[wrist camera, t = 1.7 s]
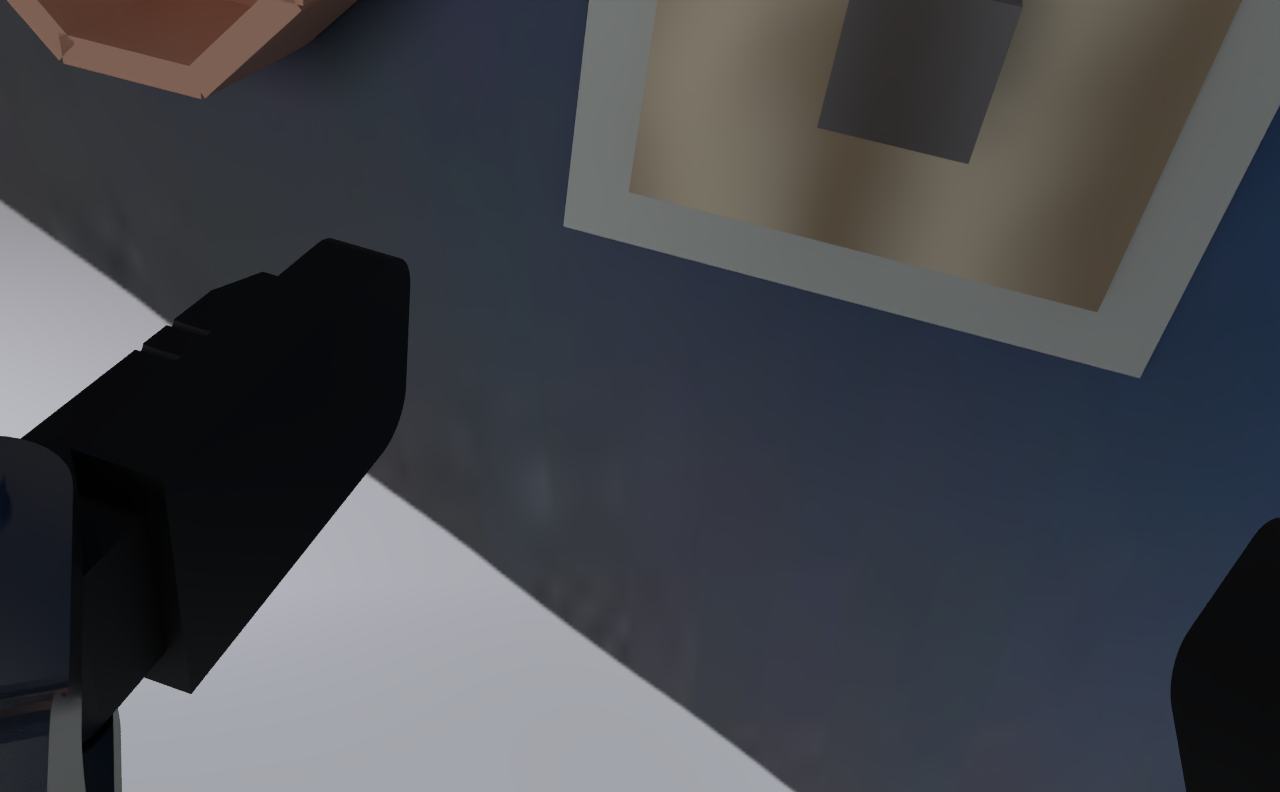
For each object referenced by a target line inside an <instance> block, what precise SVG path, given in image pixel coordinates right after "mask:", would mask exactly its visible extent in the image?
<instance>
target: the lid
mask: <svg viewBox="0 0 1280 792" xmlns="http://www.w3.org/2000/svg"><path fill="white" fill-rule="evenodd" d="M1241 1H1242V0H658V1H657V7H656V14H655V21H654V27H653V34H652V41H651V47H650V54H649V60H648V67H647V74H646V80H645V87H644V94H643V100H642V107H641V114H640V120H639V127H638V134H637V140H636V147H635V153H634V160H633V167H632V173H631V180H630V187H629V192H630V193H634V194H638V195H642V196H646V197H650V198H654V199H658V200H661V201H665V202H669V203H673V204H677V205H681V206H685V207H689V208H693V209H696V210H700V211H704V212H708V213H712V214H716V215H720V216H724V217H728V218H732V219H735V220H739V221H743V222H747V223H751V224H755V225H759V226H763V227H767V228H771V229H774V230H778V231H782V232H786V233H790V234H794V235H798V236H802V237H806V238H809V239H813V240H817V241H821V242H825V243H829V244H833V245H837V246H841V247H845V248H848V249H852V250H856V251H860V252H864V253H868V254H872V255H876V256H880V257H884V258H887V259H891V260H895V261H899V262H903V263H907V264H911V265H915V266H919V267H922V268H926V269H930V270H934V271H938V272H942V273H946V274H950V275H954V276H958V277H961V278H965V279H969V280H973V281H977V282H981V283H985V284H989V285H993V286H997V287H1000V288H1004V289H1008V290H1012V291H1016V292H1020V293H1024V294H1028V295H1032V296H1035V297H1039V298H1043V299H1047V300H1051V301H1055V302H1059V303H1063V304H1067V305H1071V306H1074V307H1078V308H1082V309H1086V310H1090V311H1094V312H1098V310H1099V308H1100V306H1101V303H1102V301H1103V299H1104V297H1105V295H1106V293H1107V291H1108V288H1109V286H1110V284H1111V282H1112V280H1113V278H1114V275H1115V273H1116V271H1117V269H1118V267H1119V265H1120V262H1121V260H1122V258H1123V256H1124V254H1125V252H1126V250H1127V247H1128V245H1129V243H1130V241H1131V239H1132V237H1133V234H1134V232H1135V230H1136V228H1137V226H1138V224H1139V221H1140V219H1141V217H1142V215H1143V213H1144V211H1145V209H1146V206H1147V204H1148V202H1149V200H1150V198H1151V196H1152V193H1153V191H1154V189H1155V187H1156V185H1157V183H1158V180H1159V178H1160V176H1161V174H1162V172H1163V170H1164V168H1165V165H1166V163H1167V161H1168V159H1169V157H1170V155H1171V152H1172V150H1173V148H1174V146H1175V144H1176V142H1177V139H1178V137H1179V135H1180V133H1181V131H1182V129H1183V127H1184V124H1185V122H1186V120H1187V118H1188V116H1189V114H1190V111H1191V109H1192V107H1193V105H1194V103H1195V101H1196V99H1197V96H1198V94H1199V92H1200V90H1201V88H1202V86H1203V83H1204V81H1205V79H1206V77H1207V75H1208V73H1209V70H1210V68H1211V66H1212V64H1213V62H1214V60H1215V58H1216V55H1217V53H1218V51H1219V49H1220V47H1221V45H1222V42H1223V40H1224V38H1225V36H1226V34H1227V32H1228V29H1229V27H1230V25H1231V23H1232V21H1233V19H1234V17H1235V14H1236V12H1237V10H1238V8H1239V6H1240V4H1241Z"/></svg>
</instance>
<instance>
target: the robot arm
mask: <svg viewBox="0 0 1280 792" xmlns="http://www.w3.org/2000/svg"><path fill="white" fill-rule="evenodd" d="M409 302H410V273H409V269H408V266H407V264H406V262H405V261H404V260H403V259H401V258H397V257H394V256H391V255H387V254H384V253H380V252H377V251H373V250H370V249H367V248H363V247H360V246H356V245H353V244H349V243H346V242H342V241H339V240H336V239H332V238H327V239H324V240H322V241H320V242H319V243H317V244H316V245H315V246H314V247H313V248H311V249H310V250H309V251H308V252H307V253H305V254H304V255H303V256H302V257H301V258H299V259H298V260H297V261H296V262H295V263H293V264H292V265H291V266H290V267H288V268H287V269H286V270H285V271H284V272H282V273H281V274H280V275H279V276H275V275H272V274H269V273H265V272H261V273H258V274H255V275H253V276H250V277H247V278H244V279H242V280H239V281H236V282H234V283H231V284H228V285H225V286H223V287H220V288H217V289H214V290H212V291H210V292H209V293H208V294H206V295H205V296H204V297H202V298H201V299H200V300H199V301H197V302H196V303H195V304H193V305H192V306H191V307H190V308H188V309H187V310H186V311H184V312H183V313H182V314H181V315H179V316H178V317H177V318H175V319H174V323H173V325H172V327H170V326H165V327H164V328H162V329H161V330H160V331H159V332H157V333H156V334H155V335H153V336H152V337H151V338H150V339H148V340H147V341H146V342H144V343H143V348H142V350H141V351H137V350H134V351H133V352H132V353H131V354H129V355H128V356H127V357H125V358H124V359H123V360H122V361H120V362H119V363H117V364H116V365H115V366H114V367H112V368H111V369H110V370H108V371H107V372H106V373H105V374H103V375H102V376H101V377H99V378H98V379H97V380H96V381H94V382H93V383H92V384H90V385H89V386H88V387H87V388H85V389H84V390H83V391H81V392H80V393H79V394H78V395H76V396H75V397H74V398H72V399H71V400H70V401H69V402H67V403H66V404H65V405H63V406H62V407H61V408H60V409H58V410H57V411H56V412H54V413H53V414H52V415H51V416H49V417H48V418H47V419H45V420H44V421H43V422H42V423H40V424H39V425H38V426H36V427H35V428H34V429H33V430H31V431H30V432H29V433H27V434H26V435H25V436H24V437H22V438H21V439H18V438H12V437H6V436H5V437H4V436H0V792H122V778H121V734H120V733H121V731H120V719H119V713H118V707H119V706H120V705H121V704H122V702H123V701H124V700H125V699H126V698H127V697H128V695H129V694H130V693H131V692H132V691H133V689H134V688H135V687H136V686H137V685H138V684H139V683H140V681H141V680H142V679H143V678H144V677H145V678H148V679H150V680H153V681H156V682H159V683H162V684H164V685H167V686H170V687H173V688H176V689H178V690H181V691H184V692H187V693H190V694H192V692H193V691H194V690H195V689H196V687H197V686H198V685H199V684H200V682H201V681H202V680H203V678H204V677H205V676H206V675H207V674H208V672H209V671H210V669H211V668H212V667H213V666H214V665H215V663H216V662H217V661H218V660H219V658H220V657H221V656H222V655H223V653H224V652H225V651H226V650H227V648H228V647H229V646H230V645H231V643H232V642H233V641H234V639H235V638H236V637H237V636H238V634H239V633H240V632H241V631H242V629H243V628H244V627H245V626H246V624H247V623H248V622H249V620H250V619H251V618H252V617H253V616H254V614H255V613H256V612H257V611H258V609H259V608H260V607H261V605H262V604H263V603H264V602H265V600H266V599H267V598H268V597H269V595H270V594H271V593H272V592H273V590H274V589H275V588H276V587H277V585H278V584H279V583H280V582H281V580H282V579H283V578H284V576H285V575H286V574H287V573H288V571H289V570H290V569H291V568H292V566H293V565H294V564H295V563H296V561H297V560H298V559H299V558H300V556H301V555H302V554H303V553H304V551H305V550H306V549H307V548H308V546H309V545H310V544H311V542H312V541H313V540H314V539H315V537H316V536H317V535H318V534H319V532H320V531H321V530H322V528H323V527H324V526H325V525H326V524H327V522H328V521H329V520H330V518H331V517H332V516H333V515H334V513H335V512H336V511H337V510H338V508H339V507H340V506H341V505H342V503H343V502H344V501H345V500H346V498H347V497H348V496H349V495H350V493H351V492H352V491H353V490H354V488H355V487H356V486H357V485H358V483H359V482H360V481H361V479H362V478H363V477H364V476H365V474H366V473H367V472H368V471H369V469H370V468H371V467H372V466H373V464H374V463H375V462H376V461H377V459H378V458H379V457H380V456H381V454H382V453H383V452H384V450H385V449H386V447H387V446H388V444H389V442H390V440H391V438H392V436H393V434H394V432H395V430H396V427H397V425H398V422H399V419H400V416H401V413H402V409H403V405H404V399H405V392H406V373H407V350H408V326H409ZM1171 705H1172V711H1173V717H1174V723H1175V729H1176V735H1177V740H1178V746H1179V752H1180V758H1181V763H1182V769H1183V775H1184V781H1185V787H1186V792H1280V518H1275V519H1273V520H1270V521H1269V522H1267V523H1266V524H1265V525H1263V526H1262V527H1261V528H1260V529H1259V530H1258V532H1257V533H1256V534H1255V536H1254V537H1253V538H1252V540H1251V541H1250V543H1249V544H1248V546H1247V547H1246V548H1245V550H1244V551H1243V553H1242V554H1241V556H1240V557H1239V559H1238V560H1237V561H1236V563H1235V564H1234V566H1233V567H1232V569H1231V570H1230V572H1229V573H1228V574H1227V576H1226V577H1225V579H1224V580H1223V582H1222V583H1221V585H1220V586H1219V588H1218V589H1217V590H1216V592H1215V593H1214V595H1213V596H1212V598H1211V599H1210V601H1209V602H1208V603H1207V605H1206V606H1205V608H1204V609H1203V611H1202V612H1201V614H1200V615H1199V617H1198V618H1197V619H1196V621H1195V622H1194V624H1193V625H1192V627H1191V628H1190V630H1189V631H1188V633H1187V634H1186V636H1185V638H1184V640H1183V642H1182V644H1181V646H1180V648H1179V651H1178V654H1177V657H1176V660H1175V664H1174V668H1173V673H1172V679H1171Z"/></svg>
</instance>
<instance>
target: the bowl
mask: <svg viewBox="0 0 1280 792" xmlns="http://www.w3.org/2000/svg"><path fill="white" fill-rule="evenodd" d="M7 1H8V2H9V3H10V4H11V6H12V7H13V8H14V9H15V10H16V11H17V12H18V14H19V15H20V16H21V17H22V18H23V19H24V21H25V22H26V23H27V24H28V25H29V26H30V27H31V29H32V30H33V31H34V32H35V33H36V34H37V36H38V37H39V38H40V39H41V40H42V41H43V42H44V44H45V45H46V46H47V47H48V48H49V49H50V50H51V52H52V53H53V54H54V55H55V56H56V57H57V59H58V60H62V59H63V63H64V64H68V65H72V66H75V67H79V68H83V69H87V70H91V71H95V72H99V73H102V74H106V75H110V76H114V77H118V78H122V79H126V80H129V81H133V82H137V83H141V84H145V85H149V86H153V87H156V88H160V89H164V90H168V91H172V92H176V93H180V94H183V95H187V96H191V97H195V98H199V99H202V98H204V97H205V98H207V97H209V96H211V95H213V94H214V93H216V92H218V91H220V90H222V89H224V88H226V87H228V86H230V85H232V84H234V83H235V82H237V81H239V80H241V79H243V78H245V77H247V76H249V75H251V74H253V73H254V72H256V71H258V70H260V69H262V68H264V67H266V66H268V65H270V64H272V63H273V62H275V61H277V60H279V59H281V58H283V57H285V56H287V55H289V54H291V53H292V52H294V51H296V50H298V49H300V48H302V47H304V46H306V45H307V44H308V43H310V42H311V41H312V40H313V39H314V38H315V37H316V36H318V35H319V34H320V33H321V32H322V31H323V30H324V29H326V28H327V27H328V26H329V25H330V24H331V23H332V22H334V21H335V20H336V19H337V18H338V17H339V16H340V15H341V14H343V13H344V12H345V11H346V10H347V9H348V8H349V7H351V6H352V5H353V4H354V3H355V2H356V1H357V0H7Z"/></svg>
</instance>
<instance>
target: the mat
mask: <svg viewBox="0 0 1280 792" xmlns="http://www.w3.org/2000/svg"><path fill="white" fill-rule="evenodd" d="M657 1H658V0H589V6H588V15H587V24H586V33H585V41H584V50H583V59H582V68H581V77H580V85H579V94H578V103H577V112H576V120H575V129H574V138H573V147H572V156H571V164H570V173H569V182H568V191H567V199H566V208H565V217H564V227H568V228H572V229H575V230H579V231H583V232H587V233H591V234H594V235H598V236H602V237H606V238H610V239H613V240H617V241H621V242H625V243H628V244H632V245H636V246H640V247H644V248H647V249H651V250H655V251H659V252H663V253H666V254H670V255H674V256H678V257H682V258H685V259H689V260H693V261H697V262H701V263H704V264H708V265H712V266H716V267H720V268H723V269H727V270H731V271H735V272H739V273H742V274H746V275H750V276H754V277H757V278H761V279H765V280H769V281H773V282H776V283H780V284H784V285H788V286H792V287H795V288H799V289H803V290H807V291H811V292H814V293H818V294H822V295H826V296H830V297H833V298H837V299H841V300H845V301H849V302H852V303H856V304H860V305H864V306H868V307H871V308H875V309H879V310H883V311H886V312H890V313H894V314H898V315H902V316H905V317H909V318H913V319H917V320H921V321H924V322H928V323H932V324H936V325H940V326H943V327H947V328H951V329H955V330H959V331H962V332H966V333H970V334H974V335H978V336H981V337H985V338H989V339H993V340H997V341H1000V342H1004V343H1008V344H1012V345H1015V346H1019V347H1023V348H1027V349H1031V350H1034V351H1038V352H1042V353H1046V354H1050V355H1053V356H1057V357H1061V358H1065V359H1069V360H1072V361H1076V362H1080V363H1084V364H1088V365H1091V366H1095V367H1099V368H1103V369H1107V370H1110V371H1114V372H1118V373H1122V374H1126V375H1129V376H1133V377H1137V378H1140V377H1141V375H1142V373H1143V371H1144V369H1145V367H1146V365H1147V363H1148V361H1149V359H1150V357H1151V355H1152V353H1153V351H1154V349H1155V347H1156V346H1157V344H1158V342H1159V340H1160V338H1161V336H1162V334H1163V332H1164V330H1165V328H1166V326H1167V324H1168V322H1169V320H1170V318H1171V316H1172V314H1173V312H1174V310H1175V308H1176V307H1177V305H1178V303H1179V301H1180V299H1181V297H1182V295H1183V293H1184V291H1185V289H1186V287H1187V285H1188V283H1189V281H1190V279H1191V277H1192V275H1193V273H1194V271H1195V269H1196V267H1197V266H1198V264H1199V262H1200V260H1201V258H1202V256H1203V254H1204V252H1205V250H1206V248H1207V246H1208V244H1209V242H1210V240H1211V238H1212V236H1213V234H1214V232H1215V230H1216V228H1217V226H1218V225H1219V223H1220V221H1221V219H1222V217H1223V215H1224V213H1225V211H1226V209H1227V207H1228V205H1229V203H1230V201H1231V199H1232V197H1233V195H1234V193H1235V191H1236V189H1237V187H1238V186H1239V184H1240V182H1241V180H1242V178H1243V176H1244V174H1245V172H1246V170H1247V168H1248V166H1249V164H1250V162H1251V160H1252V158H1253V156H1254V154H1255V152H1256V150H1257V148H1258V146H1259V145H1260V143H1261V141H1262V139H1263V137H1264V135H1265V133H1266V131H1267V129H1268V127H1269V125H1270V123H1271V121H1272V119H1273V117H1274V115H1275V113H1276V111H1277V109H1278V107H1279V105H1280V0H1242V1H1241V4H1240V6H1239V8H1238V10H1237V12H1236V14H1235V17H1234V19H1233V21H1232V23H1231V25H1230V27H1229V29H1228V32H1227V34H1226V36H1225V38H1224V40H1223V42H1222V45H1221V47H1220V49H1219V51H1218V53H1217V55H1216V58H1215V60H1214V62H1213V64H1212V66H1211V68H1210V70H1209V73H1208V75H1207V77H1206V79H1205V81H1204V83H1203V86H1202V88H1201V90H1200V92H1199V94H1198V96H1197V99H1196V101H1195V103H1194V105H1193V107H1192V109H1191V111H1190V114H1189V116H1188V118H1187V120H1186V122H1185V124H1184V127H1183V129H1182V131H1181V133H1180V135H1179V137H1178V139H1177V142H1176V144H1175V146H1174V148H1173V150H1172V152H1171V155H1170V157H1169V159H1168V161H1167V163H1166V165H1165V168H1164V170H1163V172H1162V174H1161V176H1160V178H1159V180H1158V183H1157V185H1156V187H1155V189H1154V191H1153V193H1152V196H1151V198H1150V200H1149V202H1148V204H1147V206H1146V209H1145V211H1144V213H1143V215H1142V217H1141V219H1140V221H1139V224H1138V226H1137V228H1136V230H1135V232H1134V234H1133V237H1132V239H1131V241H1130V243H1129V245H1128V247H1127V250H1126V252H1125V254H1124V256H1123V258H1122V260H1121V262H1120V265H1119V267H1118V269H1117V271H1116V273H1115V275H1114V278H1113V280H1112V282H1111V284H1110V286H1109V288H1108V291H1107V293H1106V295H1105V297H1104V299H1103V301H1102V303H1101V306H1100V308H1099V310H1098V312H1094V311H1090V310H1086V309H1082V308H1078V307H1074V306H1071V305H1067V304H1063V303H1059V302H1055V301H1051V300H1047V299H1043V298H1039V297H1035V296H1032V295H1028V294H1024V293H1020V292H1016V291H1012V290H1008V289H1004V288H1000V287H997V286H993V285H989V284H985V283H981V282H977V281H973V280H969V279H965V278H961V277H958V276H954V275H950V274H946V273H942V272H938V271H934V270H930V269H926V268H922V267H919V266H915V265H911V264H907V263H903V262H899V261H895V260H891V259H887V258H884V257H880V256H876V255H872V254H868V253H864V252H860V251H856V250H852V249H848V248H845V247H841V246H837V245H833V244H829V243H825V242H821V241H817V240H813V239H809V238H806V237H802V236H798V235H794V234H790V233H786V232H782V231H778V230H774V229H771V228H767V227H763V226H759V225H755V224H751V223H747V222H743V221H739V220H735V219H732V218H728V217H724V216H720V215H716V214H712V213H708V212H704V211H700V210H696V209H693V208H689V207H685V206H681V205H677V204H673V203H669V202H665V201H661V200H658V199H654V198H650V197H646V196H642V195H638V194H634V193H630V192H629V187H630V180H631V173H632V167H633V160H634V153H635V147H636V140H637V134H638V127H639V120H640V114H641V107H642V100H643V94H644V87H645V80H646V74H647V67H648V60H649V54H650V47H651V41H652V34H653V27H654V21H655V14H656V7H657Z"/></svg>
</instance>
